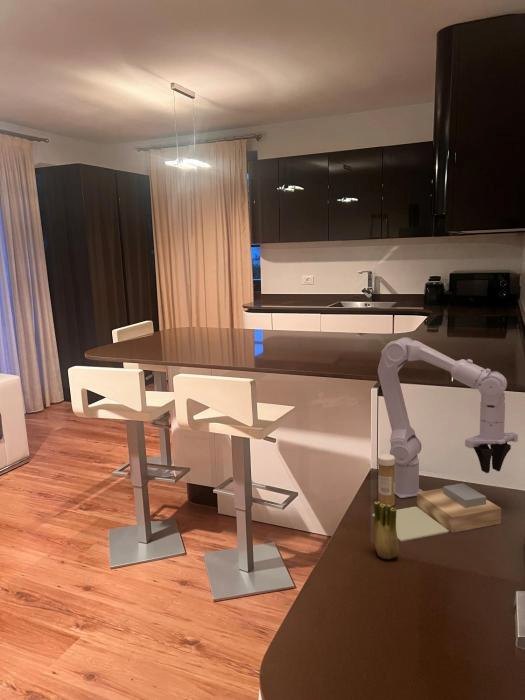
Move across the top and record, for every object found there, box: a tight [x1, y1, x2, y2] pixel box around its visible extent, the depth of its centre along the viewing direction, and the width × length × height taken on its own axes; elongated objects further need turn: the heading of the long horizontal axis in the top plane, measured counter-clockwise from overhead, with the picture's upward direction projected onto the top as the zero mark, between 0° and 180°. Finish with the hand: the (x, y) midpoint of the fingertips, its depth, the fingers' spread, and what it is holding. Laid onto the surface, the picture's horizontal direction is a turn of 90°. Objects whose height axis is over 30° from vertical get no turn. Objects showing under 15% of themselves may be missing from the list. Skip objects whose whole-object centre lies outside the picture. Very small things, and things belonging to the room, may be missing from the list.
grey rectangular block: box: [442, 482, 487, 508], centre depth 129 cm, size 9×6×2 cm, turn 16°
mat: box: [371, 506, 450, 543], centre depth 126 cm, size 14×13×1 cm
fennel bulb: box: [373, 501, 400, 560], centre depth 111 cm, size 6×5×12 cm
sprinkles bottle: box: [377, 453, 396, 507], centre depth 136 cm, size 5×5×13 cm
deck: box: [416, 487, 502, 534], centre depth 129 cm, size 15×14×4 cm
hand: (490, 470), depth 131 cm, fingers open, 3 cm apart
